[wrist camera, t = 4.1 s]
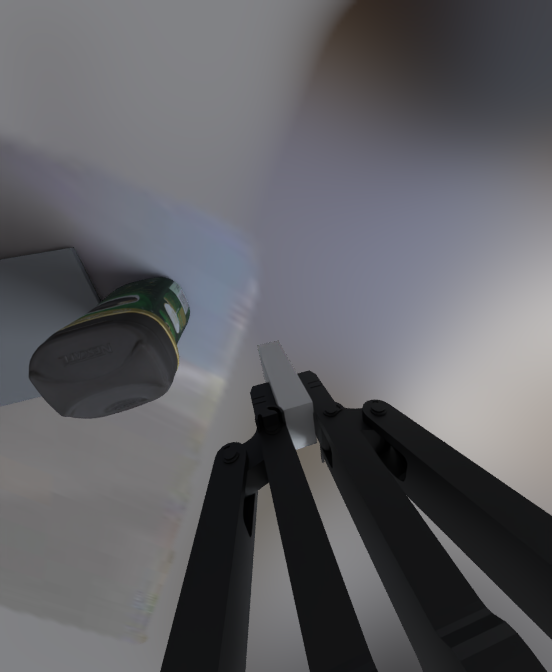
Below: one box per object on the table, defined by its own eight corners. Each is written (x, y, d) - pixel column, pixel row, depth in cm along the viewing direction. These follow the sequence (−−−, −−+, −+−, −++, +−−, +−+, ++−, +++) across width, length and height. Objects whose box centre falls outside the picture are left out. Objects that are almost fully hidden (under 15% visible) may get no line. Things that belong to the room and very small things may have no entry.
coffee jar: (132, 341, 35) (61, 444, 18) (103, 289, 31) (-19, 360, 15) (198, 322, 36) (186, 403, 19) (177, 269, 32) (140, 315, 16)
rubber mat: (-130, 281, 25) (-140, 282, 25) (73, 247, 28) (70, 247, 28) (-13, 407, 34) (-18, 410, 33) (135, 370, 36) (134, 373, 36)
